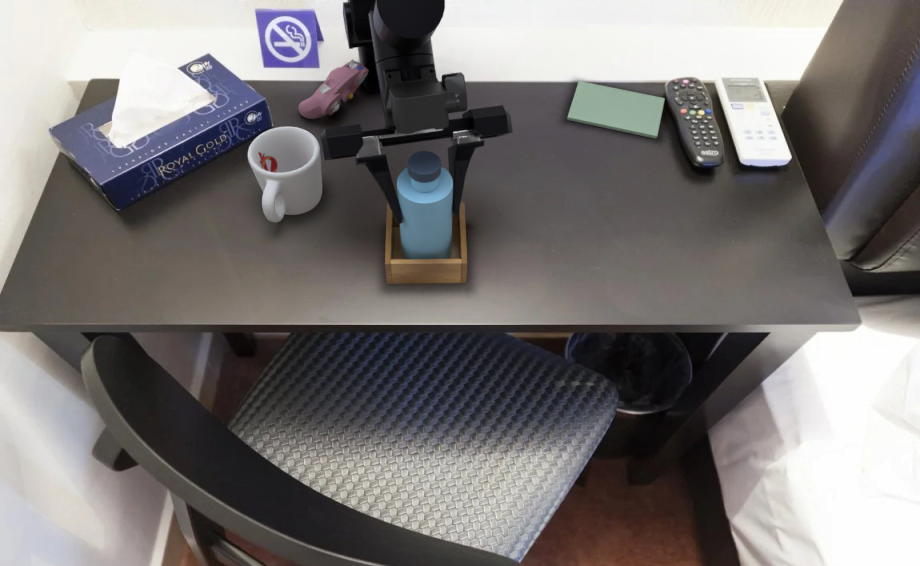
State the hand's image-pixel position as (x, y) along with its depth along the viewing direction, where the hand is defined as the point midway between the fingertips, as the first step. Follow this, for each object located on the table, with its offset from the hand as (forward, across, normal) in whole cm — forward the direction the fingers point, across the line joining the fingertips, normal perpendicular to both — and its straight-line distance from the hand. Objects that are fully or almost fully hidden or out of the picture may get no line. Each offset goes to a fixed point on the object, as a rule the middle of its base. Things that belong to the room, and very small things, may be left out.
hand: (427, 219), depth 69 cm
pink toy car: (-15, -7, +27) cm, 31 cm away
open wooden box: (+5, 0, +7) cm, 8 cm away
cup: (-3, -14, +14) cm, 20 cm away
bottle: (+4, 0, +6) cm, 7 cm away
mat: (-9, +30, +20) cm, 38 cm away
